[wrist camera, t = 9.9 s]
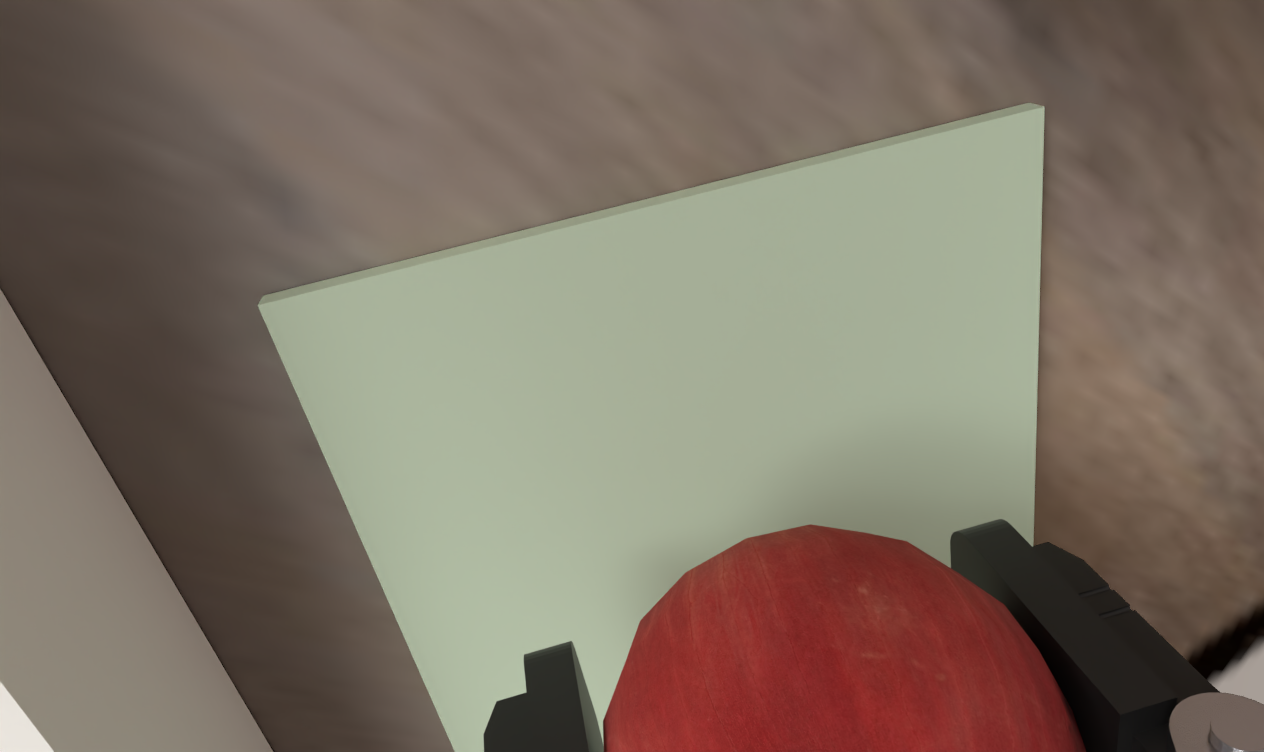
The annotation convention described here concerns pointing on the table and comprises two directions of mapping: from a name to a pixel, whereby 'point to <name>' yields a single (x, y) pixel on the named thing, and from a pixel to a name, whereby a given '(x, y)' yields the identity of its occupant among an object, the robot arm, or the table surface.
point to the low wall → (91, 597)
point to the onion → (833, 657)
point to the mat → (678, 393)
